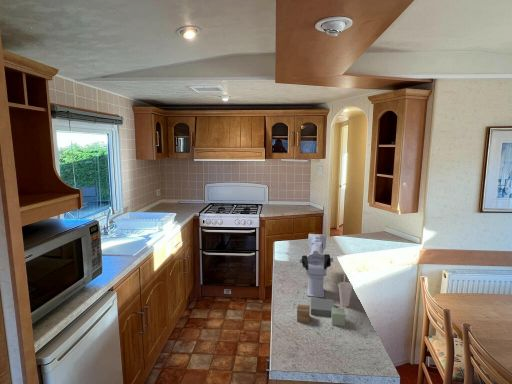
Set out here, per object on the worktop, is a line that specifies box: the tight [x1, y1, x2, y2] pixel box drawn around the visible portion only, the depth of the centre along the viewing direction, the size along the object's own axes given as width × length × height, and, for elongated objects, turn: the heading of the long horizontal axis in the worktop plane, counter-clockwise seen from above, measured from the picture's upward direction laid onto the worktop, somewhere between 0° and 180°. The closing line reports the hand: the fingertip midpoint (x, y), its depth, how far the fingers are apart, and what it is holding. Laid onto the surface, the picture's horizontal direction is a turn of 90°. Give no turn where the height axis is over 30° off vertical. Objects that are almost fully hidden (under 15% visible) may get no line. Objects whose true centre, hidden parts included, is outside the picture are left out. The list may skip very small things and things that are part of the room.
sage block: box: [330, 306, 346, 327], centre depth 128 cm, size 5×5×5 cm
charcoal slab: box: [310, 297, 336, 317], centre depth 138 cm, size 10×10×3 cm
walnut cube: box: [296, 304, 311, 324], centre depth 131 cm, size 5×5×5 cm
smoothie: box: [337, 274, 354, 308], centre depth 142 cm, size 6×6×14 cm
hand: (315, 267), depth 131 cm, fingers open, 7 cm apart
